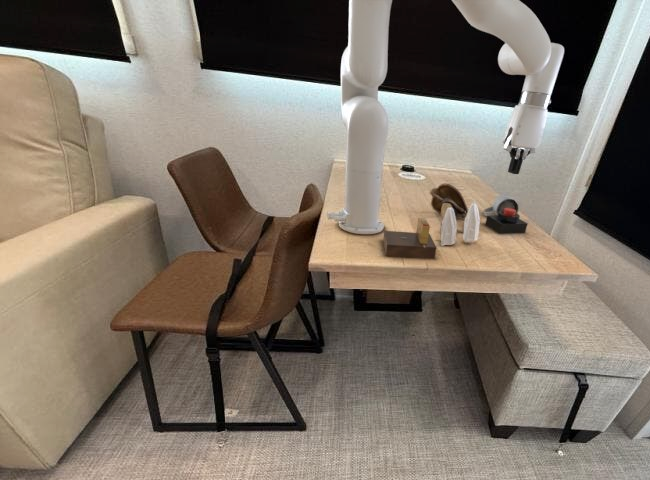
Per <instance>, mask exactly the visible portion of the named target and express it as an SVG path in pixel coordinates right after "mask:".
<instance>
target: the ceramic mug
mask: <svg viewBox="0 0 650 480" xmlns="http://www.w3.org/2000/svg"><path fill="white" fill-rule="evenodd" d="M505 208H511V209H514V210H516V213H517V214H519V211H520V205H519V202H518V201H517V200H516V199H514V198H513V197H512V196H510V195H507V194H502V195H499V196H498V197H496V198H495V199H494V201H493V204H492V206H489V207H487V208H485V209H484V210H483V215H484V216H485V217H487V216H488V215H498V212H499V211H504V209H505Z"/></svg>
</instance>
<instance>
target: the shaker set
mask: <svg viewBox="0 0 650 480" xmlns="http://www.w3.org/2000/svg"><path fill="white" fill-rule="evenodd" d="M480 219H481V218H480V212H479V208H478V204H477V203H476V202H473V203H471V204H470V207H468V213H467V215H466V218H464V223H463V230H464V232H462V233H463V235H462V239H463V242H465V243H466V244H467V245H470V244H473V243H475V242H476V241H477V240H478V239H479V232H480V224H481V223H480V222H481V220H480ZM442 220H443V221H442V222H441V223H442V228H441V227H440V240H441V241H440V246H442V247H444V246H446V245H447V246H451V245H455V244H456V241H457V229H458V224H457V217H455V213H454V210H453V208H452V207H451V208H448V209H447V211H446V213H445V216H444V219H442Z"/></svg>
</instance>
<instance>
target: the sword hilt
mask: <svg viewBox="0 0 650 480" xmlns="http://www.w3.org/2000/svg"><path fill="white" fill-rule="evenodd" d="M429 194H430V195H431V199H430V200H431V201H430V206H431V207H432V209H433V210H434V211H435V212H436V213H437V214H439V215H441V220H442V222H443V219H444V216H445V213H446V211H447V209H448V208H451V207H452V208H453V210H454V213H455V217H456V218H461V219H465V218H466V215H467V213H468V210H469V207H468V206H467V204H466V201H465V198H464V197H463V194H462V193H461V192H460V191H459V189H458V188H457V187H455V186H454V185H452V184H451V183H445V182H444V183H441V184H439V185H438V186H437V187H433V188H432V189H431V190H430V191H429ZM442 222H441V223H440V229H441V228H442ZM456 233H464V229H459V228H457V231H456Z"/></svg>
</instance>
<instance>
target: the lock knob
mask: <svg viewBox="0 0 650 480" xmlns="http://www.w3.org/2000/svg"><path fill="white" fill-rule="evenodd" d="M430 228H431V226H430V224H429V222H428V221H427V219H426V217H417V225H416V231H415V233H416V236H417V238H418V241H419V243H420V244H427V241H428V235H429V234H430Z"/></svg>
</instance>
